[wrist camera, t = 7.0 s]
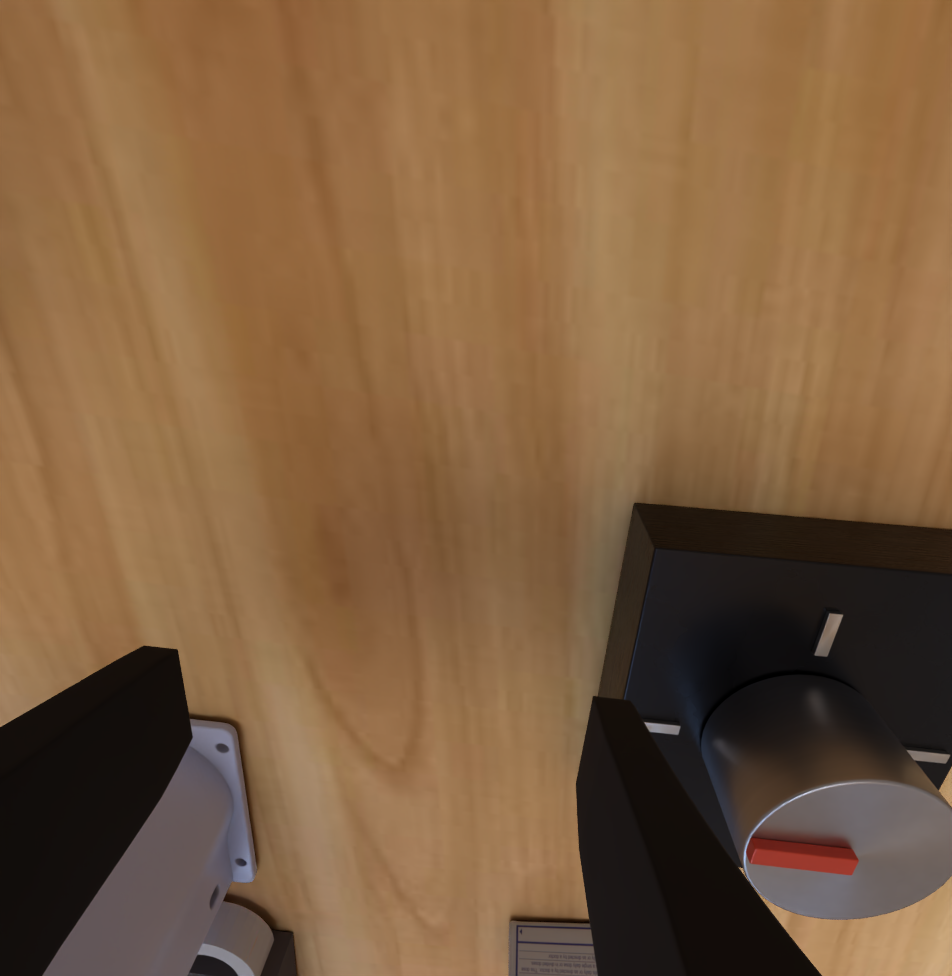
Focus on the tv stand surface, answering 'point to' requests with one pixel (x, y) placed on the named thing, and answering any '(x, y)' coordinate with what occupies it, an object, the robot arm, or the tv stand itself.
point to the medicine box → (551, 949)
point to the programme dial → (825, 800)
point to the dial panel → (779, 626)
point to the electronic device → (244, 946)
